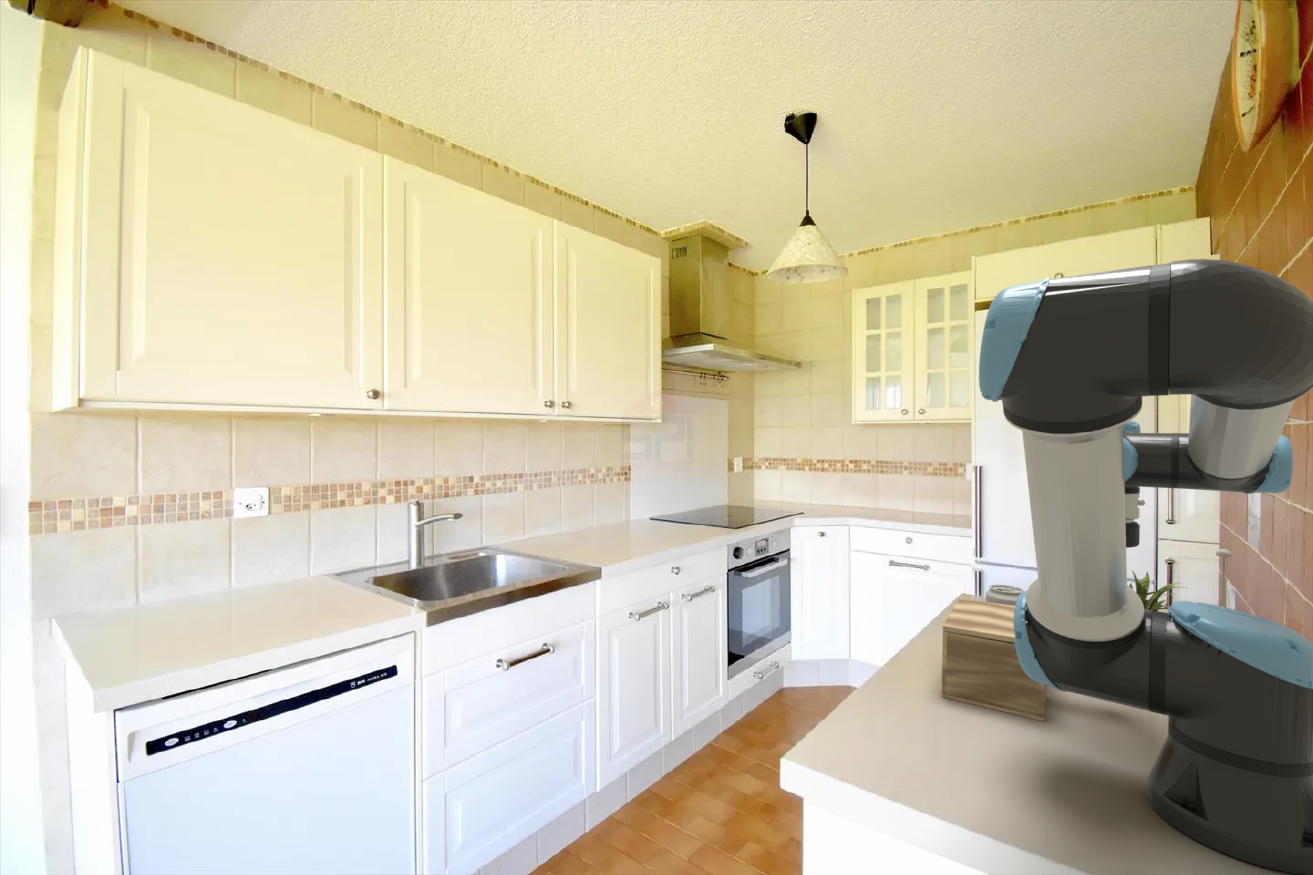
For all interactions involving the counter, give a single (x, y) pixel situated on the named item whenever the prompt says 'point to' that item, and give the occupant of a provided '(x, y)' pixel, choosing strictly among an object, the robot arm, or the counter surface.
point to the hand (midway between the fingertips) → (1106, 668)
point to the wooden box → (989, 676)
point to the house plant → (1143, 592)
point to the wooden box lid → (982, 620)
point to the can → (1003, 594)
